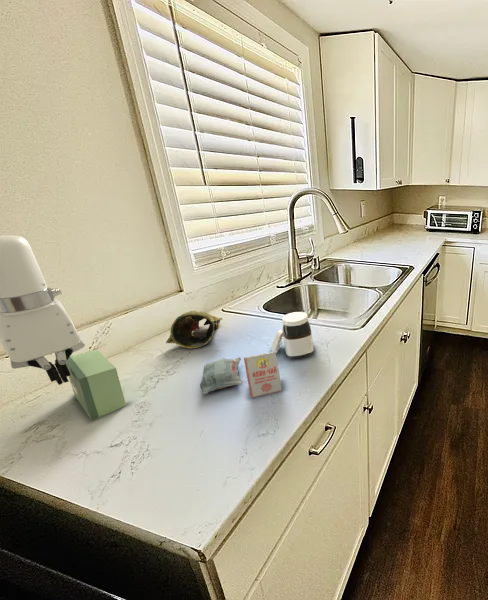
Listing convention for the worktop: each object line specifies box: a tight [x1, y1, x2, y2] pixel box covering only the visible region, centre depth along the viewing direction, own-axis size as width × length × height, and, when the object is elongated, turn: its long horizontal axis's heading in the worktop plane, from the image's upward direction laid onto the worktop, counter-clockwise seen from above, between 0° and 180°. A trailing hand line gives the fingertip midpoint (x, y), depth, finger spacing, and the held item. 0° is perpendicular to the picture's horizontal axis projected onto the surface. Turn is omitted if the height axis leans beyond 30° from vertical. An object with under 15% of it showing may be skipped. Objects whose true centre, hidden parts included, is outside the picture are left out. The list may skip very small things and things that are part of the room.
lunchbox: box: [66, 349, 127, 421], centre depth 74 cm, size 6×14×10 cm, turn 54°
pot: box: [165, 310, 223, 349], centre depth 103 cm, size 17×11×18 cm
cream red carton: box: [243, 351, 283, 399], centre depth 77 cm, size 4×7×10 cm, turn 113°
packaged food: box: [199, 357, 243, 395], centre depth 81 cm, size 9×12×5 cm
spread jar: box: [270, 311, 314, 360], centre depth 93 cm, size 12×11×12 cm
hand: (62, 380), depth 69 cm, fingers closed
